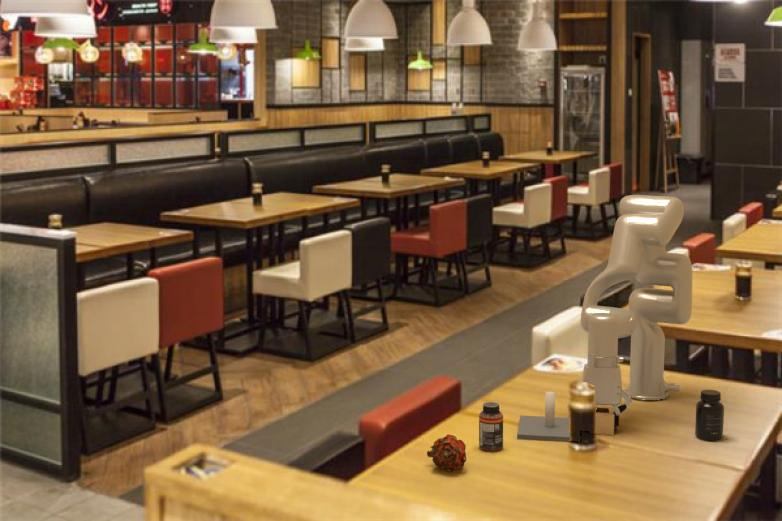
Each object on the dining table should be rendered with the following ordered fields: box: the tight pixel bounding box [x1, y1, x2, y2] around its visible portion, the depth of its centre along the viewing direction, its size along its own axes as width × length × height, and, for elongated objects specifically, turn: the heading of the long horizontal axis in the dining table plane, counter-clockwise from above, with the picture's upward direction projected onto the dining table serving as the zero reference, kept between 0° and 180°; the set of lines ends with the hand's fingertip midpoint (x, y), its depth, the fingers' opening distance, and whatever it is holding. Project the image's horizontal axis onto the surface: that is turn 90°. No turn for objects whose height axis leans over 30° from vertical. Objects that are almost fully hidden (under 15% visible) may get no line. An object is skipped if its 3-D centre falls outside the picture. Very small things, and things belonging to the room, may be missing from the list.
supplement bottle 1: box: [478, 401, 504, 453], centre depth 248 cm, size 6×6×11 cm
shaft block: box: [516, 390, 570, 443], centre depth 262 cm, size 16×16×10 cm
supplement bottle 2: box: [694, 389, 725, 442], centre depth 255 cm, size 7×7×12 cm
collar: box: [595, 405, 615, 436], centre depth 262 cm, size 6×6×6 cm
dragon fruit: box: [426, 434, 467, 472], centre depth 236 cm, size 8×8×12 cm
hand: (600, 427), depth 262 cm, fingers closed on collar, 6 cm apart
